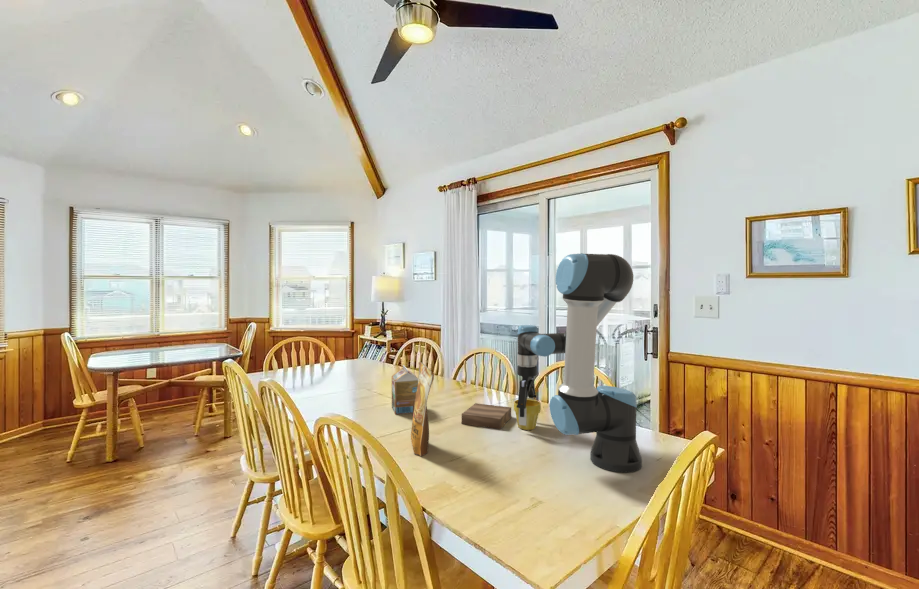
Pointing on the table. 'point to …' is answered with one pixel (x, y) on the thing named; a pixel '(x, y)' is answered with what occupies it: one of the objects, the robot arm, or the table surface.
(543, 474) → the table surface
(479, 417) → the block
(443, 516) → the table surface
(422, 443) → the pancake mix bag
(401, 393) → the milk carton
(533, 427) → the plant pot
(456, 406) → the table surface
